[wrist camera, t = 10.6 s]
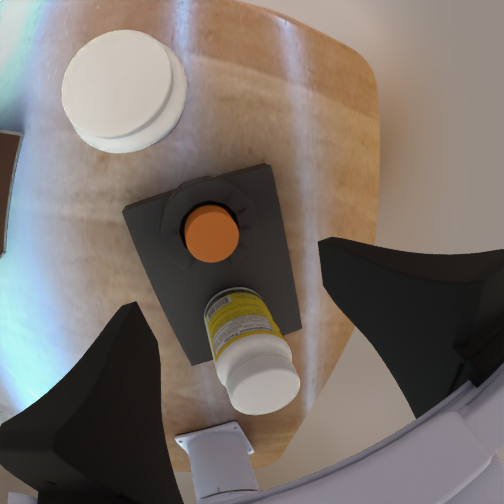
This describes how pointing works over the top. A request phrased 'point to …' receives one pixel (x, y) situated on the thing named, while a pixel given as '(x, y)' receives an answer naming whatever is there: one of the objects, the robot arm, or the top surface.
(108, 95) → the pill bottle
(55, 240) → the top surface
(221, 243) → the orange push button
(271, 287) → the button base
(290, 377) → the supplement bottle
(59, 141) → the top surface
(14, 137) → the food container
